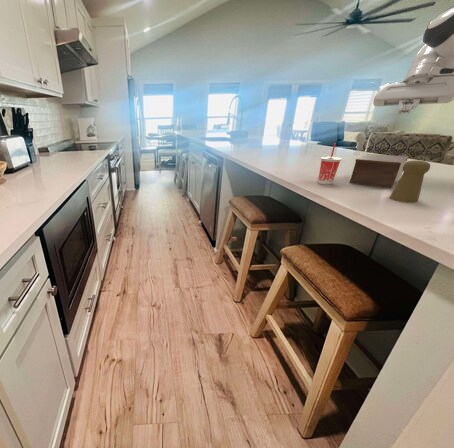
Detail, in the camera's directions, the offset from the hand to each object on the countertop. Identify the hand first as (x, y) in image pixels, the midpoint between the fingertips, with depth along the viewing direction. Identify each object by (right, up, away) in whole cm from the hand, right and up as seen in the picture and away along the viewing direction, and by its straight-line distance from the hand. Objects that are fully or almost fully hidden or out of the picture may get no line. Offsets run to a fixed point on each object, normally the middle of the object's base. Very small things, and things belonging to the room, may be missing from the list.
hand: (404, 112), depth 83 cm
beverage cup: (-23, -24, +7) cm, 33 cm away
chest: (-6, -23, +5) cm, 25 cm away
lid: (-7, -16, +1) cm, 18 cm away
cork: (-13, -32, -12) cm, 37 cm away
